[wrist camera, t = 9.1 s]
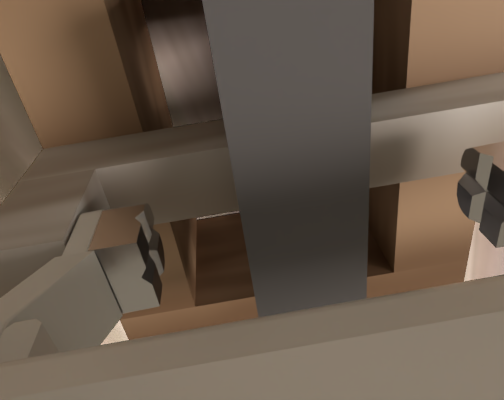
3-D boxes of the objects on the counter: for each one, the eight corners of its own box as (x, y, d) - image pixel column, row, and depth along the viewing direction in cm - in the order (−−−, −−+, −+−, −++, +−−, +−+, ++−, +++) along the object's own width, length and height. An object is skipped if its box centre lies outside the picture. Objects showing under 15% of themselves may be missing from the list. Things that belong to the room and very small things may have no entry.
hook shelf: (15, -121, 14) (-376, -244, 4) (433, -187, 14) (901, -439, 5) (147, 252, 22) (107, 476, 13) (403, 208, 22) (545, 397, 13)
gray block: (200, -40, 14) (198, -19, 7) (290, -55, 14) (375, -47, 7) (243, 210, 19) (265, 358, 12) (307, 199, 19) (365, 341, 12)
